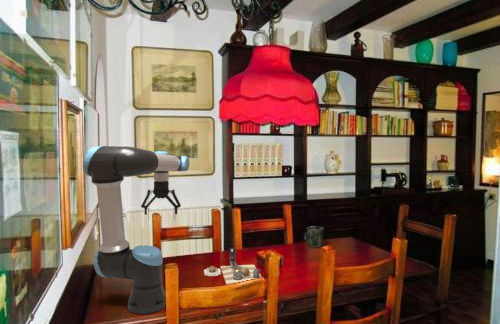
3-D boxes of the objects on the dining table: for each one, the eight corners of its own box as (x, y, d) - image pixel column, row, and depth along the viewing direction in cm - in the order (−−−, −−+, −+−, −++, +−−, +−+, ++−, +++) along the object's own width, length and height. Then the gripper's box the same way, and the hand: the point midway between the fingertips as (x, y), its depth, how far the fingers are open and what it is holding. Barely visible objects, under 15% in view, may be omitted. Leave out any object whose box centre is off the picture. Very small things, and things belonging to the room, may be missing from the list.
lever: (244, 279, 165) (244, 259, 165) (234, 279, 164) (234, 259, 164) (237, 265, 184) (237, 247, 184) (228, 266, 183) (228, 248, 183)
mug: (327, 246, 228) (327, 228, 227) (310, 250, 220) (310, 231, 219) (315, 242, 237) (316, 225, 236) (299, 245, 229) (299, 227, 229)
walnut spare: (216, 274, 174) (216, 266, 173) (209, 274, 173) (209, 267, 173) (215, 271, 177) (215, 264, 177) (208, 271, 176) (208, 264, 176)
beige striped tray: (264, 283, 164) (264, 273, 164) (226, 286, 161) (226, 275, 161) (253, 267, 187) (253, 258, 187) (220, 269, 183) (220, 259, 183)
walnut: (248, 267, 169) (242, 266, 171) (247, 275, 168) (240, 273, 169) (251, 269, 172) (244, 268, 174) (249, 277, 170) (242, 276, 172)
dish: (221, 277, 172) (221, 273, 172) (204, 278, 170) (204, 274, 170) (219, 271, 180) (219, 267, 180) (203, 272, 178) (203, 268, 178)
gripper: (185, 179, 188) (185, 218, 189) (138, 180, 185) (138, 219, 186) (185, 181, 181) (184, 221, 182) (135, 181, 177) (135, 222, 178)
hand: (161, 220), depth 184 cm, fingers open, 13 cm apart
